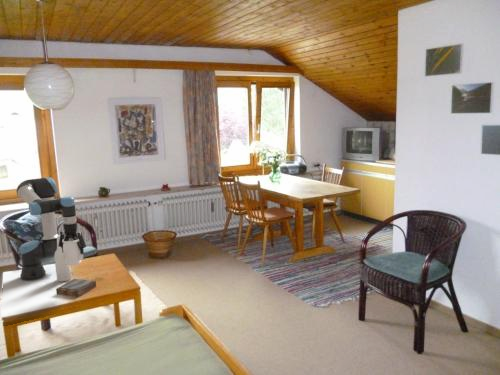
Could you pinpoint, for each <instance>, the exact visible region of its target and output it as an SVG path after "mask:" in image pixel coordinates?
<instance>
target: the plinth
mask: <svg viewBox="0 0 500 375" xmlns="http://www.w3.org/2000/svg"><path fill="white" fill-rule="evenodd" d="M96 287H97V282H96V280H89V279H78V278H72V279H70V280H69V281H67V282H66V283H64V284H62V285H60V286H58V287H57V288H55V291H56V295H58V296H68V297H74V298H80V297H82V296H84V295H85V294H87V293H88V292H90V291H91V290H93V289H94V288H95V289H96Z"/></svg>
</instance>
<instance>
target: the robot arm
mask: <svg viewBox="0 0 500 375" xmlns="http://www.w3.org/2000/svg"><path fill="white" fill-rule="evenodd" d="M15 192H16V195H17V196H18V198H20V199H21V200H23V201H25V203H26V204H27V205H28V211H29V214H30V215H31V216H39V215H40V218H41V226H42V233H43V237H42V238H41V241H39V240H36V239H35V240H30V241H27V242H25V243H23V244H21V245H20V250H19V253H20V258H21V272H20V280H22V281H34V280H39V279H41V278H43V277H46V274H47V273H46V272H47V271H46V269H45V268H44V265H43V264H42V260H45V259H49V258H55V257H54V254H55V251H56V250H57V237H56V236H57V235H60V240H59V247H61V248H62V252H63V242H62V240H63V239H64V241H68V240H69V238H71V239H73V240H74V241H75V240H78V239H79V242H77V245H78V247H79V249H78V251H79V260H81V261H82V260H83V259H84V253H85V251H84V249H86V248H87V245H86V242H85V240H84V237H83V231H78V230H77V229H78V222H77V221H78V220H77V213H76V211H77V210H76V201H75V198H74V197H73V196H63V197H57V198H56V194H58V188H57V184H56V181H55V180H54V179H53V178H52V177H40V178H32V179H31V178H30V179H25V180H23V181H21V182H20V183H19V184H18V185H17V188H16V191H15ZM55 198H56V199H55ZM57 212H61V216H62V226H63V230H62V231H59V233H60V234H58V228H57V227H58V226H57V221H56V213H57ZM75 237H76V238H75ZM63 256H64V252H63ZM64 259H65V256H64Z"/></svg>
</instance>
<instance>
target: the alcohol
mask: <svg viewBox="0 0 500 375" xmlns="http://www.w3.org/2000/svg"><path fill="white" fill-rule="evenodd" d="M56 237H57V250H56V251H55V254H54V257H53V258H54V264H55V273H56V280H57V282H59V283H63V282H64V283H65V282H69V281H71V280H72V279H73V278H72V277H73V276H72V270H71V268H72V267H71V265H67V264H66V263H67V261H66V259H64V256H63V252H62V248H61V247H59V240H60V234H58V235H57V236H56Z"/></svg>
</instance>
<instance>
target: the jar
mask: <svg viewBox="0 0 500 375" xmlns="http://www.w3.org/2000/svg"><path fill="white" fill-rule="evenodd" d="M75 238H76V237H75ZM64 239H65V238H64ZM64 239H63V240H62V242H63V252H64V256H65V259H66V261H67V263H66V264H67V265H70V266H74V265H75V266H77V265H79V264H81V263H82V259H81V260H79V251H78V249H79V247H78V245H77V242H79V239H78V240H75V241H74V240H73V239H71V238H69V240H68V241H64Z"/></svg>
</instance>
